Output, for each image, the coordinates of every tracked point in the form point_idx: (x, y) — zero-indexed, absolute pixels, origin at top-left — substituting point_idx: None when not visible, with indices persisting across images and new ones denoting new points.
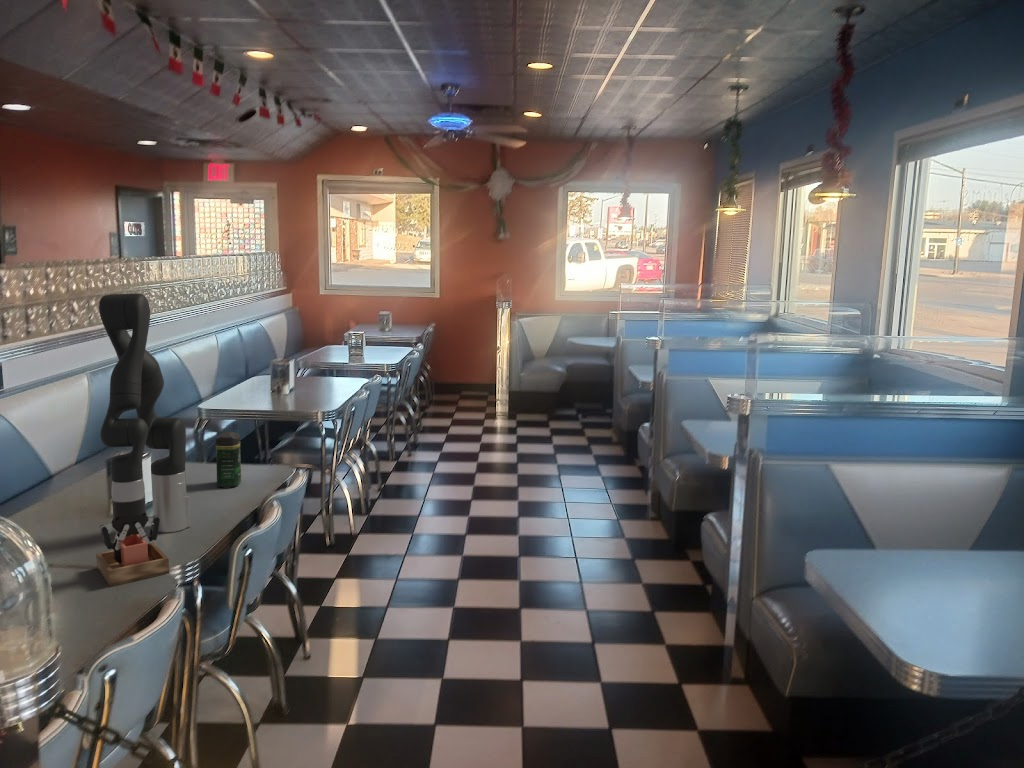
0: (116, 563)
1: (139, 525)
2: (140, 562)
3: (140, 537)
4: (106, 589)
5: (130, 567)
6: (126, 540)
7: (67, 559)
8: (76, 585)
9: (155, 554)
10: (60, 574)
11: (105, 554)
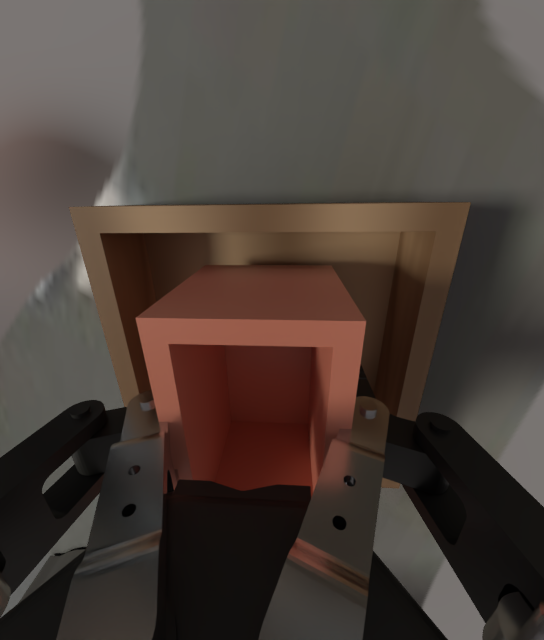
0: None
1: (90, 603)
2: (242, 272)
3: (179, 468)
4: (446, 175)
5: (321, 204)
6: None
7: (419, 536)
8: (519, 316)
9: None
10: (499, 449)
11: None
